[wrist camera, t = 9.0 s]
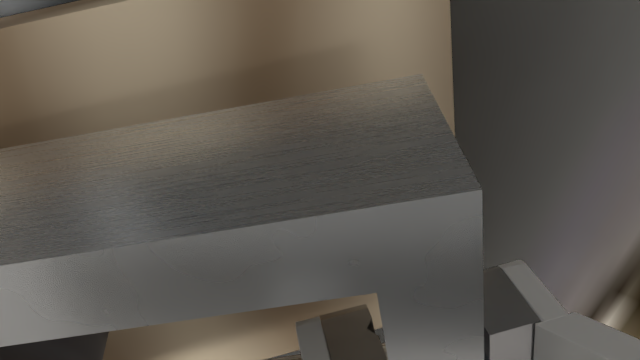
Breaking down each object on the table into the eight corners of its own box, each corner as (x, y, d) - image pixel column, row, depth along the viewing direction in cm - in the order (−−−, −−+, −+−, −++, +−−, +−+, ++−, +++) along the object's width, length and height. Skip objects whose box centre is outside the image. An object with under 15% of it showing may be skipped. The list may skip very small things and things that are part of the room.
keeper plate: (423, -76, 12) (640, -29, 6) (444, 277, 19) (561, 479, 13) (-530, 134, 11) (-1513, 471, 5) (-161, 438, 18) (-374, 756, 11)
